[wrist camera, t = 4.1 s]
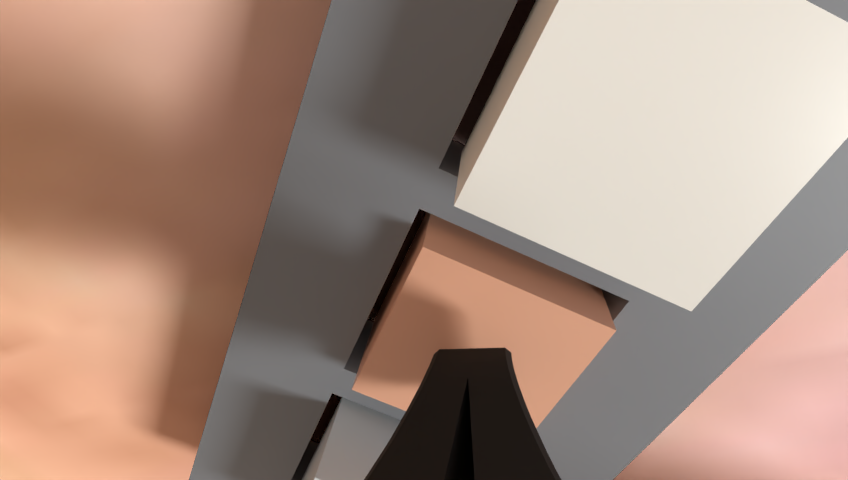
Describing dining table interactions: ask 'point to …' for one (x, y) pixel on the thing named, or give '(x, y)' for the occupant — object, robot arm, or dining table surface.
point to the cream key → (657, 132)
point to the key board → (435, 193)
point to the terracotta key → (482, 317)
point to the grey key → (350, 443)
